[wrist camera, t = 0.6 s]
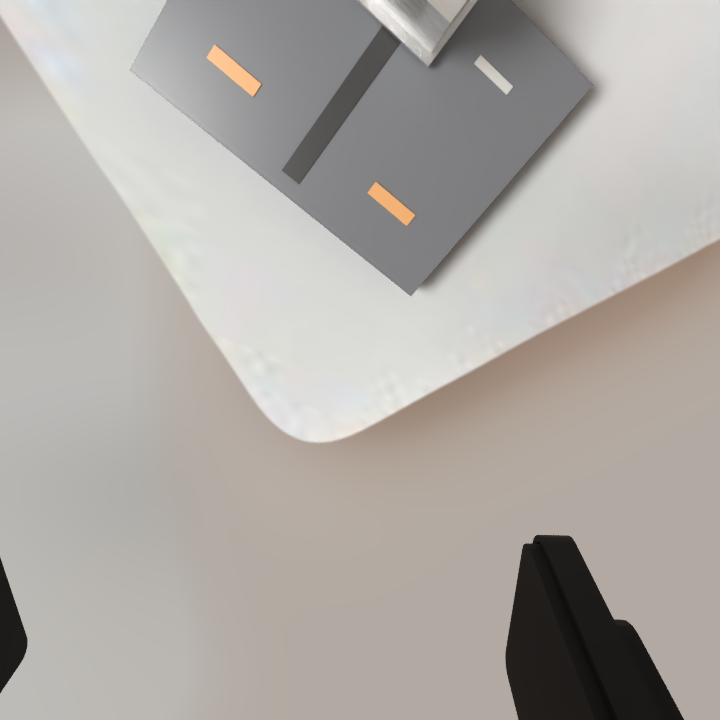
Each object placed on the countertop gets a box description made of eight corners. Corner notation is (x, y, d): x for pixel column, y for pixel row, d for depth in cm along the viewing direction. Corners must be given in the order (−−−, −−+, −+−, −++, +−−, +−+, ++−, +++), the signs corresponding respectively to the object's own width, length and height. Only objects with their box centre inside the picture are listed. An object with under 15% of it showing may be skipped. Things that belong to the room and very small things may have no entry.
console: (298, -193, 26) (291, -227, 23) (576, 89, 30) (594, 84, 28) (147, 75, 30) (128, 69, 28) (408, 286, 35) (410, 296, 32)
